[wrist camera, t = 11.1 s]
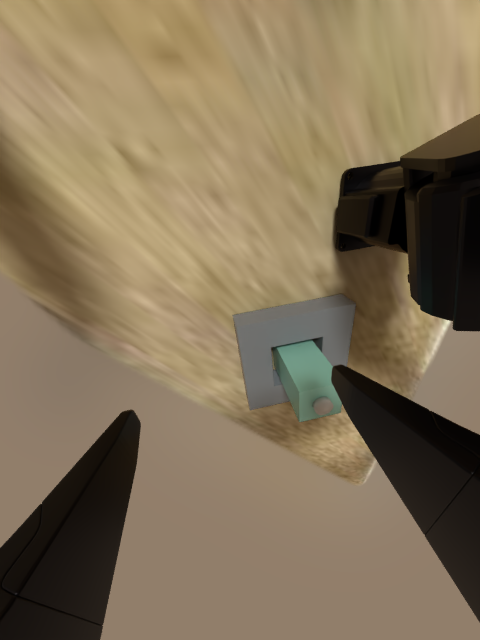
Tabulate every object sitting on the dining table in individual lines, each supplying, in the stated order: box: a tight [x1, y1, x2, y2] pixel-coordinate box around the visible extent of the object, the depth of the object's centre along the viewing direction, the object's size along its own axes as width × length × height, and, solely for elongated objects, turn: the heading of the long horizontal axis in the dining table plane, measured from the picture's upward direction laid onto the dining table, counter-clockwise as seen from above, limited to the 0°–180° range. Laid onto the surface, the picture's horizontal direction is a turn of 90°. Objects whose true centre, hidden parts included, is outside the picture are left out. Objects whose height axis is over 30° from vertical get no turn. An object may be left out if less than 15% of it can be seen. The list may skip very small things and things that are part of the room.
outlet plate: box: [233, 294, 356, 410], centre depth 25 cm, size 12×12×2 cm
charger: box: [273, 339, 342, 422], centre depth 22 cm, size 4×4×9 cm
